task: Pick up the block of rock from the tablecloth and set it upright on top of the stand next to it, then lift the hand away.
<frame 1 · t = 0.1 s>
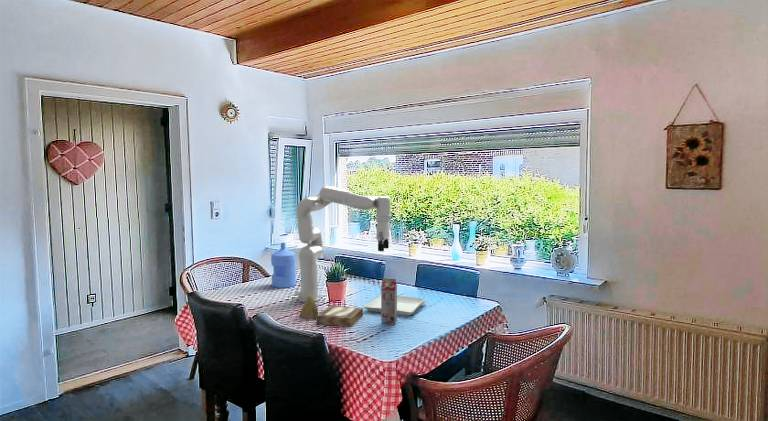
hand: (383, 249, 265), 31 cm above the table, tool pointing down, fingers open, 9 cm apart
square plate: (395, 309, 261), on the table
water jug: (283, 285, 315), on the table
rock: (309, 317, 246), on the table
stand: (340, 319, 241), on the table
juice carton: (389, 322, 236), on the table
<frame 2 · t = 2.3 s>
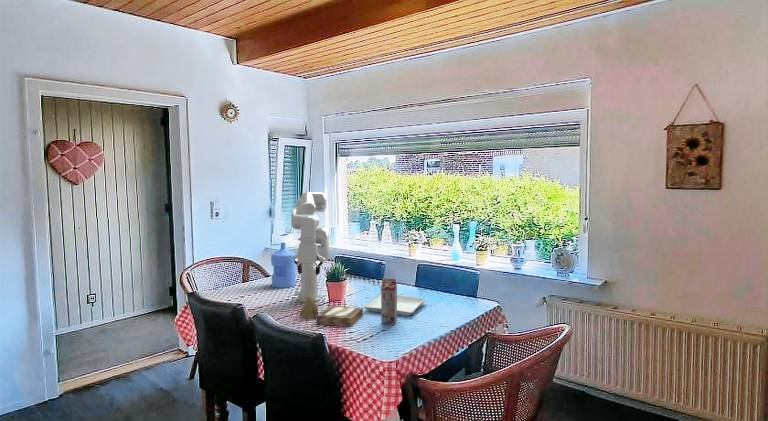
hand: (308, 273, 244), 22 cm above the table, tool pointing down, fingers open, 9 cm apart
nothing on the table moved.
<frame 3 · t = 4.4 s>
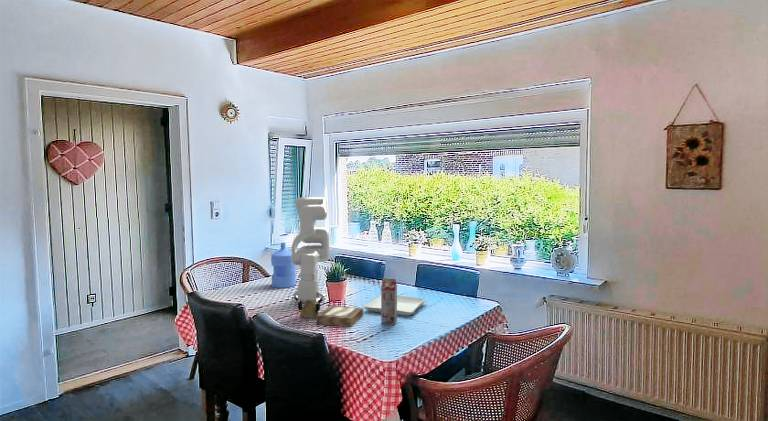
hand: (309, 310, 245), 4 cm above the table, tool pointing down, fingers closed on rock, 9 cm apart
rock: (309, 317, 246), on the table, touching gripper
everything else where it was.
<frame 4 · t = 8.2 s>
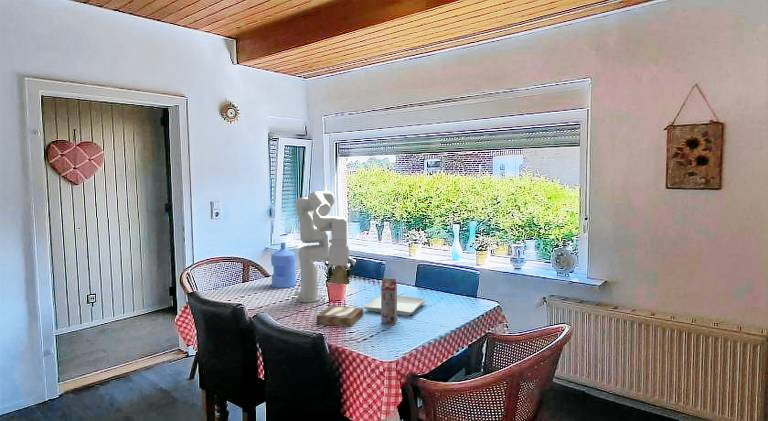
hand: (339, 276, 239), 22 cm above the table, tool pointing down, fingers closed on rock, 9 cm apart
rock: (339, 283, 240), point 18 cm above the table, touching gripper
everything else where it was.
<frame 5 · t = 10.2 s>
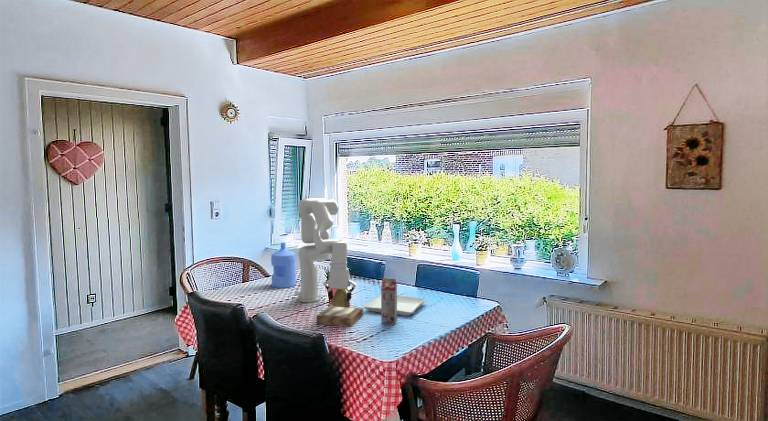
hand: (340, 299, 240), 10 cm above the table, tool pointing down, fingers closed on rock, 9 cm apart
rock: (340, 306, 241), point 7 cm above the table, touching gripper
everything else where it was.
when the fingers open (9 cm above the table, at t = 11.8 s): rock stays where it is, resting on stand.
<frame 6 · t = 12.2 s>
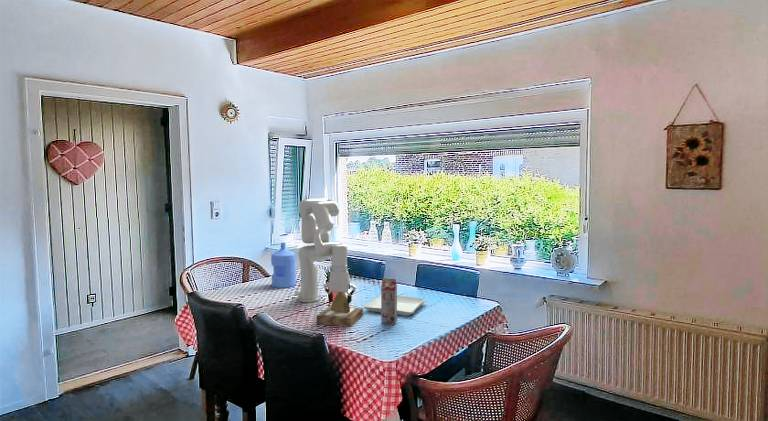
hand: (340, 302, 240), 9 cm above the table, tool pointing down, fingers open, 9 cm apart
rock: (340, 311, 242), point 4 cm above the table, touching stand
everything else where it was.
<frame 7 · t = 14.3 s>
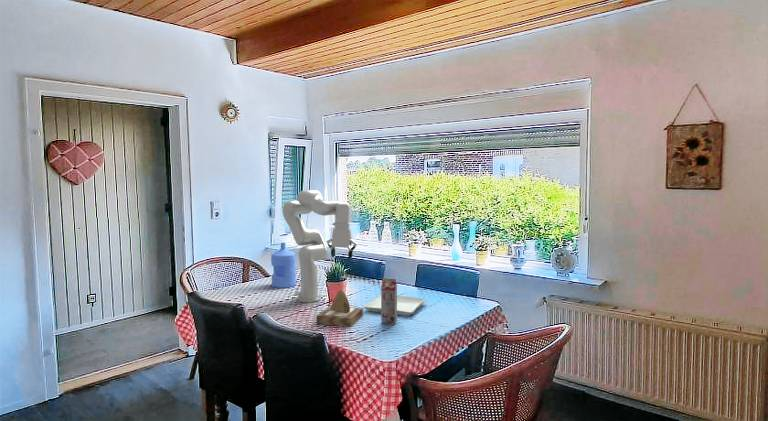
hand: (341, 257, 256), 29 cm above the table, tool pointing down, fingers open, 9 cm apart
nothing on the table moved.
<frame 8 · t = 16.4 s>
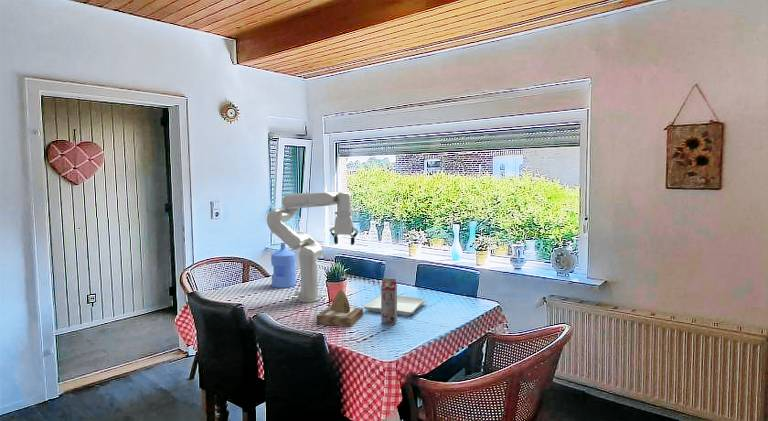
hand: (344, 244, 271), 33 cm above the table, tool pointing down, fingers open, 9 cm apart
nothing on the table moved.
at the end: rock inside the target area on the stand (0.8 cm from its centre), point 4.0 cm above the stand's base; rock tilted 0°; the gripper is holding nothing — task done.
